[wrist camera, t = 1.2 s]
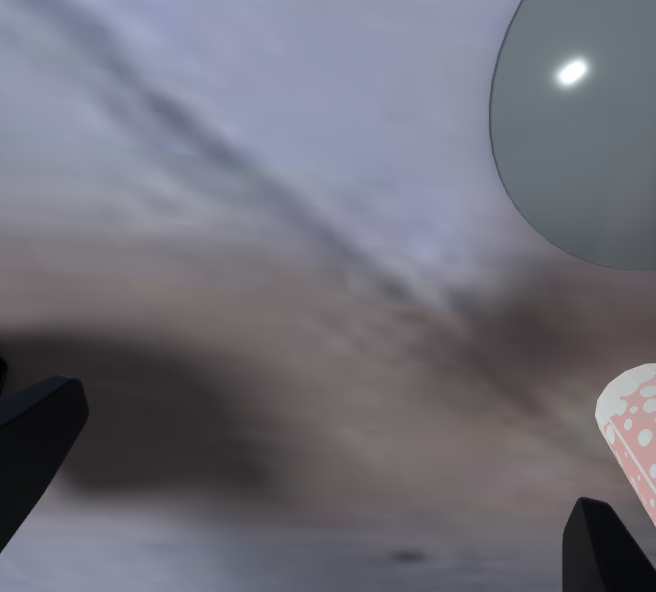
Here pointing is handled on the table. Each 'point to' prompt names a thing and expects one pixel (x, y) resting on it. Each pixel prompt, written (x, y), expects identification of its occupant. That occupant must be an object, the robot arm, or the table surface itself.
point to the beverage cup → (633, 428)
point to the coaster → (580, 126)
